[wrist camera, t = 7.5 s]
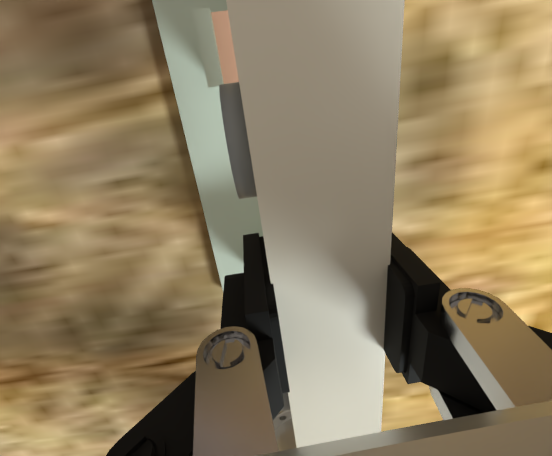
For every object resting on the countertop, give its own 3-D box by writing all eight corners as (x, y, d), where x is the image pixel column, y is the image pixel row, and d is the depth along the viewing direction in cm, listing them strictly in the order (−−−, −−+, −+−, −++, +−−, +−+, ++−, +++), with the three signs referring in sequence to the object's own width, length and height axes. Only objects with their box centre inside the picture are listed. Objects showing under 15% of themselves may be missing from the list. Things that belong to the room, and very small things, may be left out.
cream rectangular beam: (341, 375, 17) (378, 483, 12) (278, 387, 17) (292, 500, 12) (325, -49, 9) (413, -178, 4) (203, -35, 9) (165, -152, 4)
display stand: (346, 271, 31) (384, 339, 23) (225, 290, 30) (220, 367, 22) (338, -36, 20) (404, -112, 12) (153, -13, 20) (93, -77, 12)
